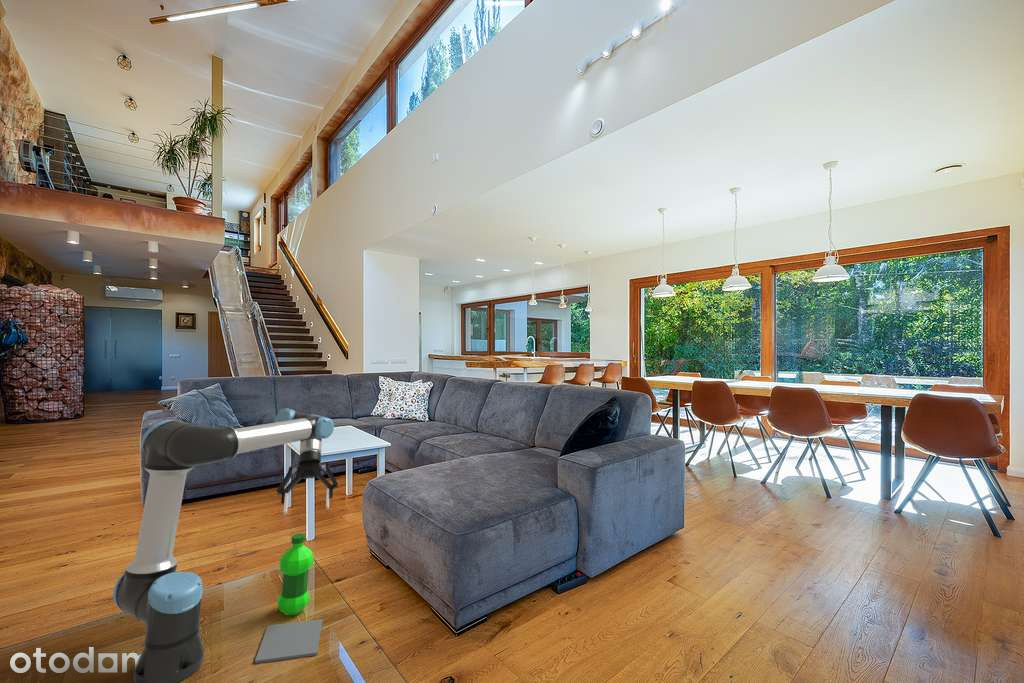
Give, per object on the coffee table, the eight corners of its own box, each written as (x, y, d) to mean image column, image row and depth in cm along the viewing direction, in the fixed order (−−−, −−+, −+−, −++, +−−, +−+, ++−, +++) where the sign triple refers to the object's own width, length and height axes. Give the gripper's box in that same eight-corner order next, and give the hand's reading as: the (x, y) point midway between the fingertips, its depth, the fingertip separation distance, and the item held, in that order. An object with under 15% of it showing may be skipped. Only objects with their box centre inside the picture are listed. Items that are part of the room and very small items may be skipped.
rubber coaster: (254, 663, 122) (254, 660, 122) (267, 628, 137) (267, 625, 137) (316, 655, 127) (317, 652, 127) (322, 621, 142) (322, 619, 142)
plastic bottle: (307, 599, 154) (312, 527, 155) (311, 615, 145) (316, 539, 146) (275, 606, 149) (280, 532, 149) (277, 623, 140) (283, 544, 140)
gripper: (345, 454, 174) (345, 508, 161) (275, 461, 166) (268, 518, 153) (344, 446, 168) (343, 502, 156) (271, 452, 160) (264, 511, 148)
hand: (306, 510), depth 154 cm, fingers open, 13 cm apart
